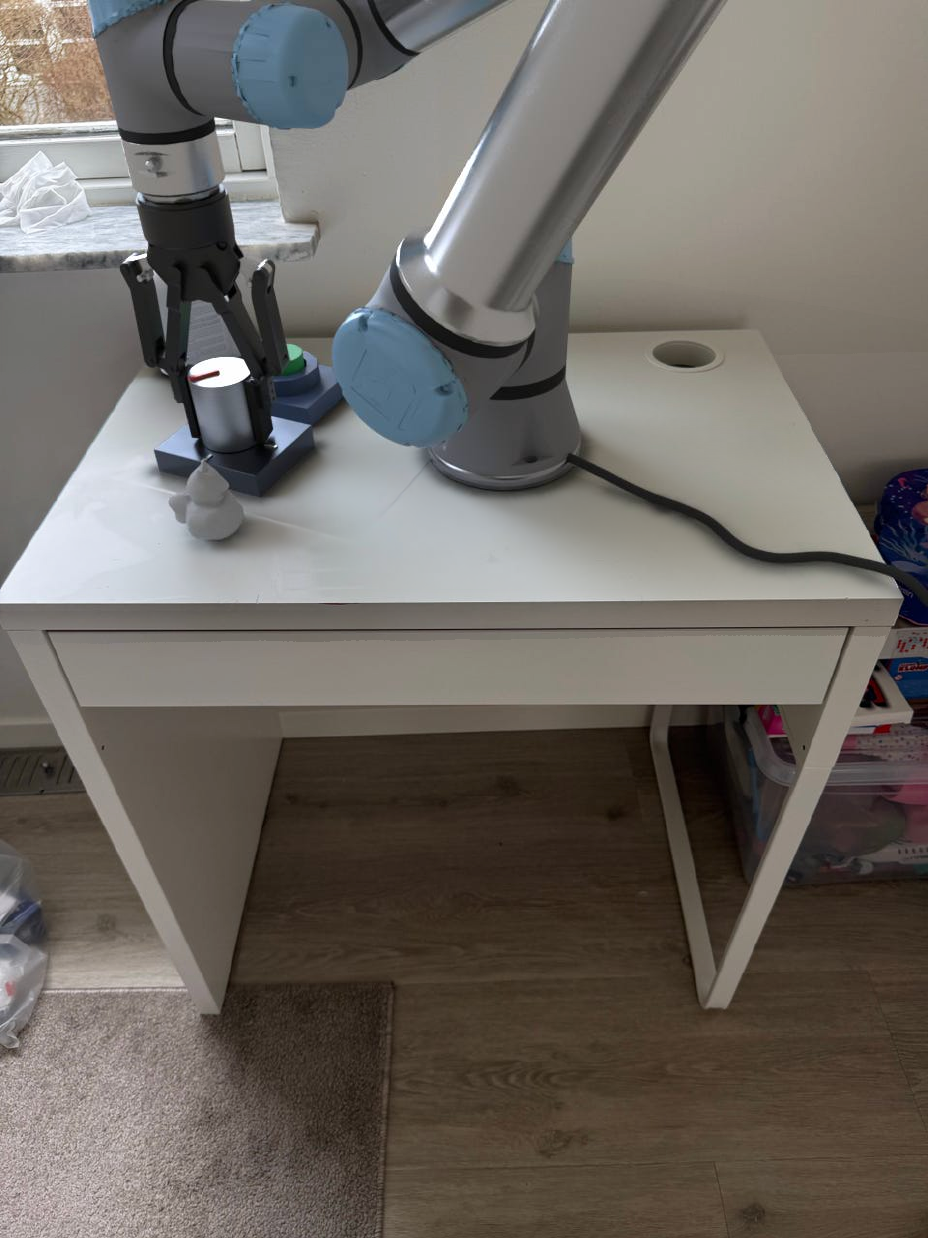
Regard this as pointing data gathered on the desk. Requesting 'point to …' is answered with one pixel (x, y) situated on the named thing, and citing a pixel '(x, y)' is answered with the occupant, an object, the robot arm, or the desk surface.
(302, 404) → the block
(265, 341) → the robot arm
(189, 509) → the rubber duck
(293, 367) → the button
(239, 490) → the dial panel
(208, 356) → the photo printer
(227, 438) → the dial
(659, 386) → the desk surface
